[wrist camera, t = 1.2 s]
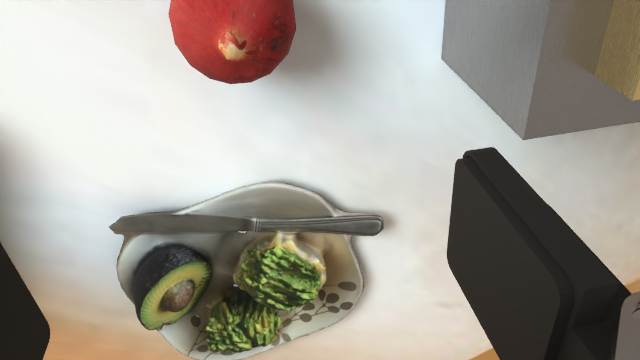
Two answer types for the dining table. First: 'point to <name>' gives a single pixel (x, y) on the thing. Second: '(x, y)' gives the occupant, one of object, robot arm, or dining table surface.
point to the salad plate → (242, 269)
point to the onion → (233, 36)
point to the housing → (548, 61)
